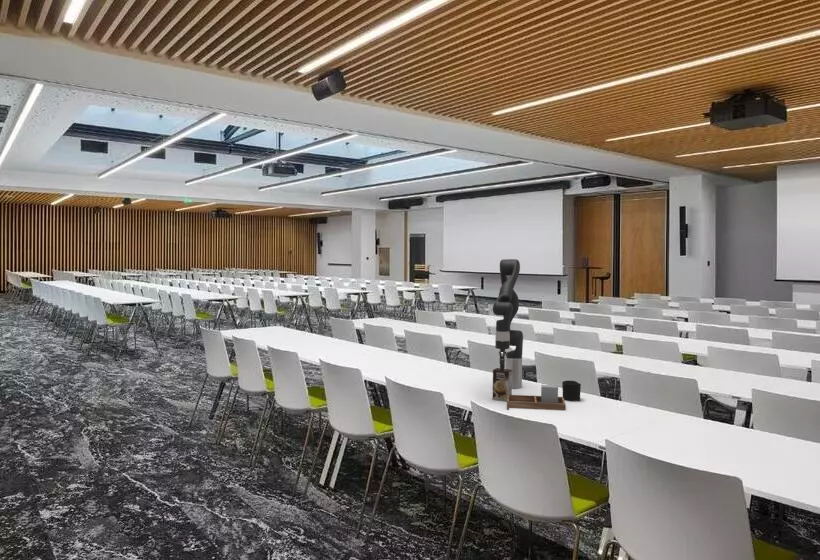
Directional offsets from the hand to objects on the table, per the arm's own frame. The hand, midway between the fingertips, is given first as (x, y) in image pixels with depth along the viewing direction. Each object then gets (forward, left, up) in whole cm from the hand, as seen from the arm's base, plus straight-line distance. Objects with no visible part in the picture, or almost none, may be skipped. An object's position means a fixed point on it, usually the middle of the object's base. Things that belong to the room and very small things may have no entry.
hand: (502, 369), depth 311 cm
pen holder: (-2, +36, -16) cm, 40 cm away
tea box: (+13, +24, -15) cm, 31 cm away
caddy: (+13, +17, -16) cm, 27 cm away
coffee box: (0, 0, -16) cm, 16 cm away
